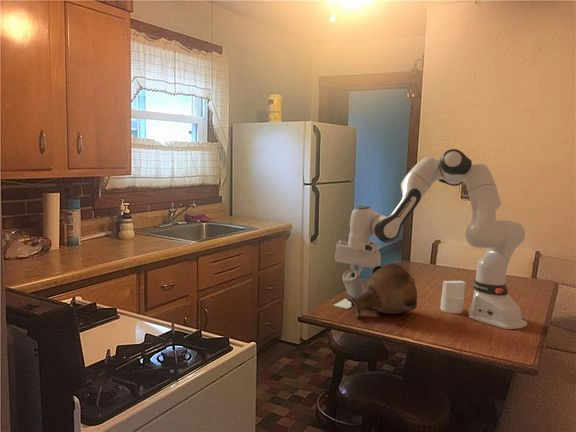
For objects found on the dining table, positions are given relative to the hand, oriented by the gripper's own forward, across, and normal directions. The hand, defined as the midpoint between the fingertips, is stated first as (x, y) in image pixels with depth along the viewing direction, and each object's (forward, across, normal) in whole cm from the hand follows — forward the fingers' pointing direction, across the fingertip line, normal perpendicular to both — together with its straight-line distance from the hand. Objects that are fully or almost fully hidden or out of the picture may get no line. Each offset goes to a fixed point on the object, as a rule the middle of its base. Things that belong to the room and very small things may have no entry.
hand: (355, 274), depth 218 cm
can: (+8, +1, +1) cm, 8 cm away
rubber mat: (+10, +1, -10) cm, 15 cm away
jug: (+10, +17, -13) cm, 24 cm away
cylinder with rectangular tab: (+10, +39, +11) cm, 42 cm away
